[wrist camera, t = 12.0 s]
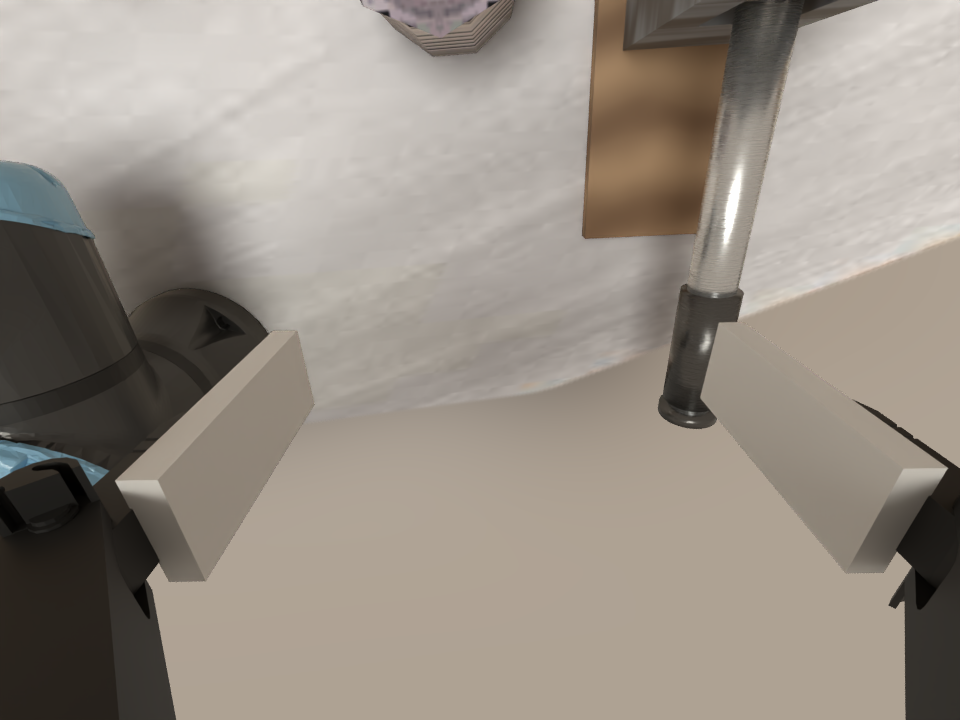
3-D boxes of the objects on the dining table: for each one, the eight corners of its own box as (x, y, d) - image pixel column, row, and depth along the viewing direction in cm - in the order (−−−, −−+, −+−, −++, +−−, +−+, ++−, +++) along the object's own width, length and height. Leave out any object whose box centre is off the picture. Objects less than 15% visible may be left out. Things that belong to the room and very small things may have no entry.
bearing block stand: (734, 228, 40) (878, 284, 25) (582, 235, 41) (633, 294, 26) (841, -277, 27) (1301, -818, 11) (609, -255, 27) (753, -736, 12)
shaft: (702, 397, 37) (727, 428, 34) (650, 398, 38) (668, 429, 34) (793, -21, 25) (850, -50, 21) (714, -15, 25) (754, -43, 21)
